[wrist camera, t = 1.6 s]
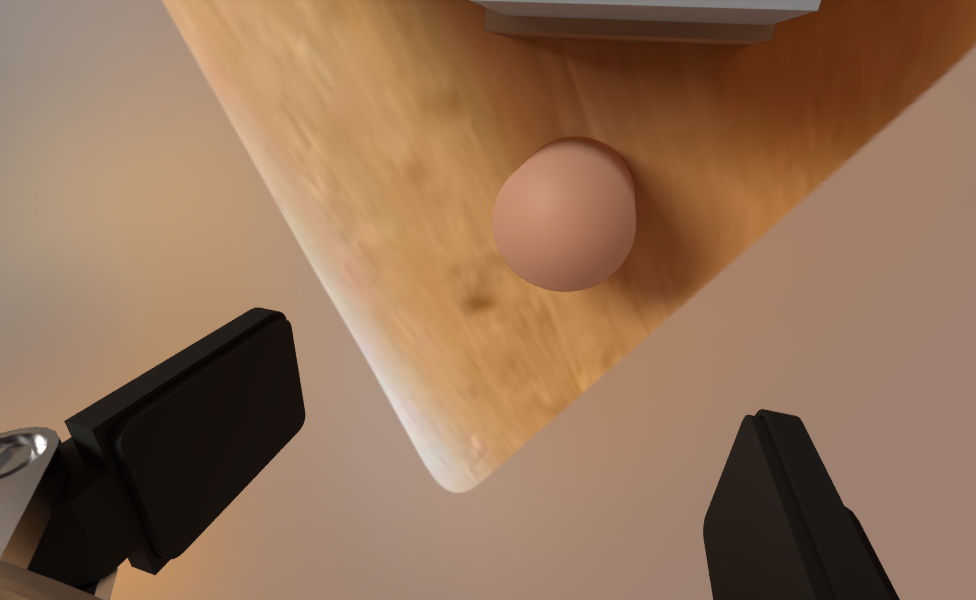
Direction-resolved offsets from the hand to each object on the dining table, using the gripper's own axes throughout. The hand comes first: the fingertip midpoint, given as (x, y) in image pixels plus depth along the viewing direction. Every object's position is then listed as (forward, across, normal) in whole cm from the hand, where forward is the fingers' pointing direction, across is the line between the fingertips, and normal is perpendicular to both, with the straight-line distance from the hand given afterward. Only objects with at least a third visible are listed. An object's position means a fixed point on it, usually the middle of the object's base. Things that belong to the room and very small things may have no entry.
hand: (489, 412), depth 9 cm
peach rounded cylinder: (+17, 0, -1) cm, 17 cm away
